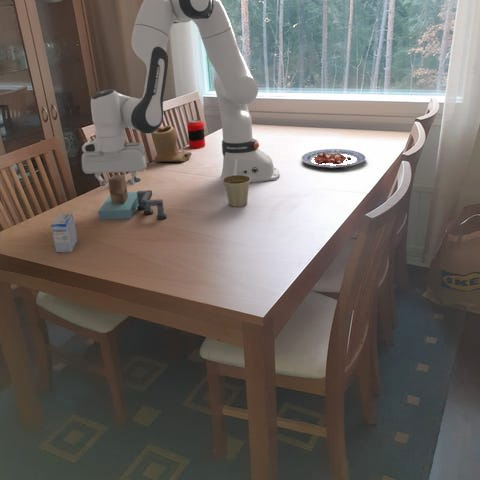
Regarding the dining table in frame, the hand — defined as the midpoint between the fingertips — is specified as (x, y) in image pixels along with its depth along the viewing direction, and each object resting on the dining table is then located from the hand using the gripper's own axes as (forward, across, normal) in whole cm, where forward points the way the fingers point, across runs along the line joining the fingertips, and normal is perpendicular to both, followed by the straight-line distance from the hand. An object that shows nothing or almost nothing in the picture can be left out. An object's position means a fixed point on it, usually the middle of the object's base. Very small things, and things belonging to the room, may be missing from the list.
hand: (117, 184), depth 168 cm
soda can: (+9, -18, -79) cm, 82 cm away
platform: (+9, 0, 0) cm, 9 cm away
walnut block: (+6, 0, 0) cm, 6 cm away
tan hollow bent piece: (+9, -9, -56) cm, 57 cm away
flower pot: (+9, -39, -1) cm, 40 cm away
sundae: (+9, +2, -31) cm, 32 cm away
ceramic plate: (+9, -77, -45) cm, 90 cm away
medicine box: (+9, +9, +28) cm, 31 cm away
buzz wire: (+9, -11, +4) cm, 15 cm away
